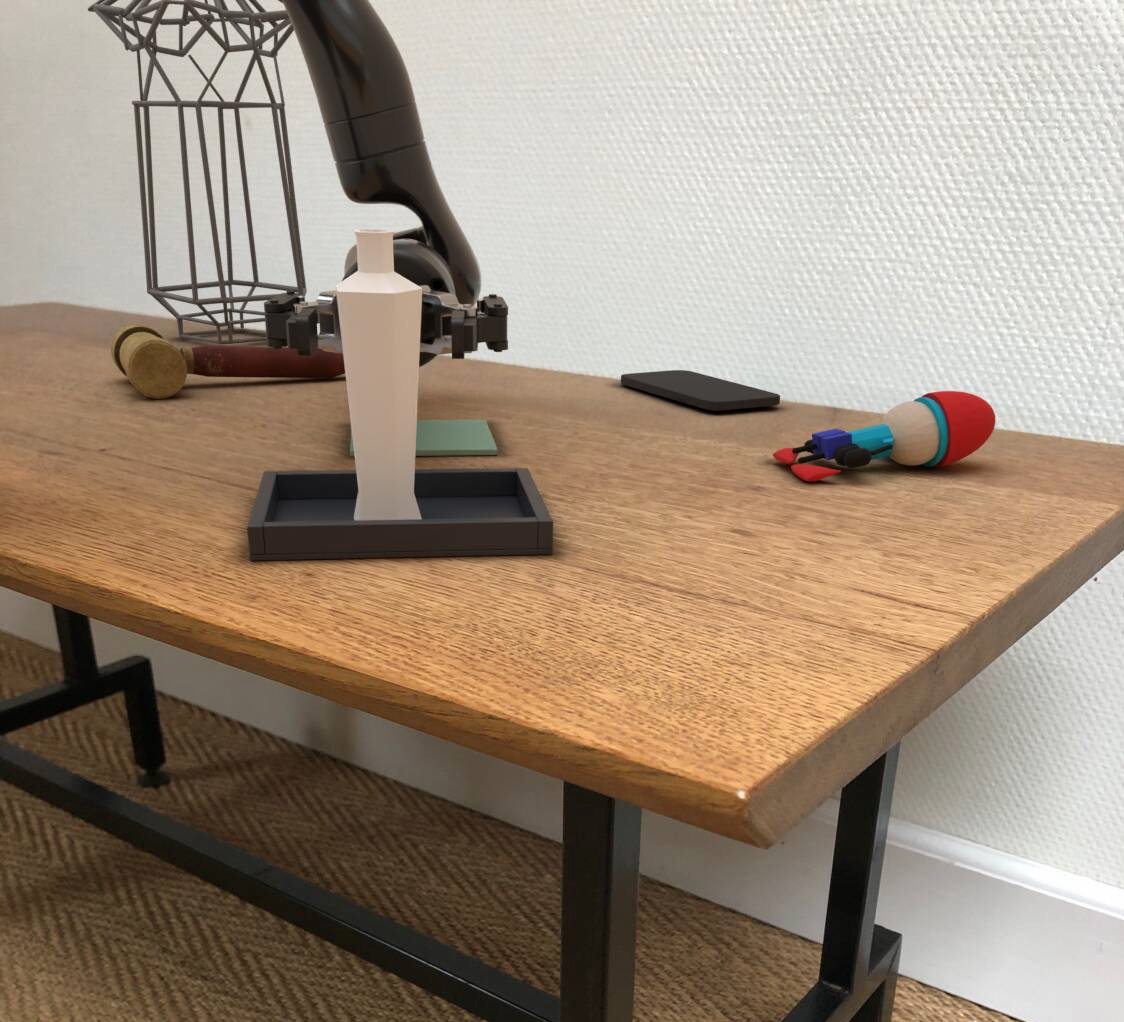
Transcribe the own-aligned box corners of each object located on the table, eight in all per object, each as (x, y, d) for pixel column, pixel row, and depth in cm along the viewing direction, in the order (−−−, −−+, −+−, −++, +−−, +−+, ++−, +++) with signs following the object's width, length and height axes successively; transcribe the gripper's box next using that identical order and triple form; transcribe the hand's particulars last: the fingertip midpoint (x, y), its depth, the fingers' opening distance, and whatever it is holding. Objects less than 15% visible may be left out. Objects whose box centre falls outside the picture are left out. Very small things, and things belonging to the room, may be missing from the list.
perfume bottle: (325, 520, 70) (307, 229, 64) (386, 506, 73) (374, 226, 67) (378, 537, 67) (365, 235, 61) (439, 522, 70) (433, 232, 64)
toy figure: (813, 509, 81) (1022, 460, 83) (806, 432, 79) (1021, 385, 82) (767, 489, 88) (962, 445, 90) (760, 418, 86) (960, 374, 88)
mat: (350, 456, 85) (350, 450, 85) (352, 425, 94) (351, 420, 94) (497, 455, 87) (497, 449, 86) (485, 424, 95) (485, 419, 95)
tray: (249, 560, 64) (246, 526, 64) (266, 501, 75) (263, 470, 74) (552, 554, 66) (553, 521, 66) (527, 497, 77) (528, 467, 76)
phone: (685, 369, 115) (787, 396, 103) (684, 378, 115) (786, 406, 103) (615, 374, 112) (712, 402, 100) (614, 384, 112) (711, 413, 100)
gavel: (349, 329, 116) (383, 345, 108) (348, 381, 118) (382, 400, 109) (108, 322, 107) (126, 339, 99) (112, 378, 109) (129, 398, 101)
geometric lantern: (337, 341, 131) (315, -56, 116) (204, 357, 121) (161, -77, 105) (250, 325, 141) (219, -44, 125) (121, 338, 130) (69, -62, 115)
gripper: (287, 241, 82) (244, 264, 68) (505, 245, 83) (509, 268, 69) (295, 359, 86) (256, 406, 71) (505, 362, 87) (509, 409, 72)
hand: (380, 338), depth 70 cm, fingers open, 8 cm apart
